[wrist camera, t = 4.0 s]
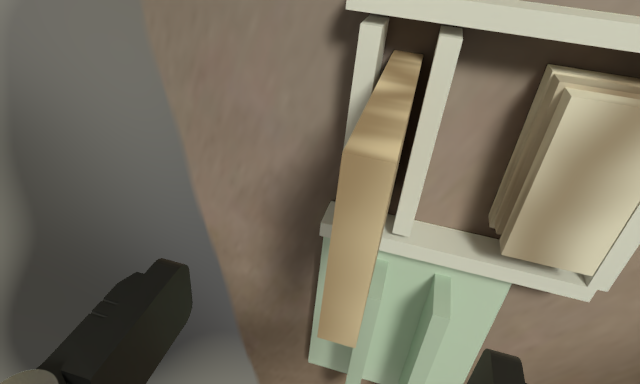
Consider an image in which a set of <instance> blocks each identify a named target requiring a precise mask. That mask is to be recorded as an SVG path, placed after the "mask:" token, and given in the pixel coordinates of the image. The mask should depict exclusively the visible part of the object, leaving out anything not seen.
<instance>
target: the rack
mask: <svg viewBox="0 0 640 384" xmlns="http://www.w3.org/2000/svg"><path fill="white" fill-rule="evenodd" d="M346 9H347V10H354V11H360V12H367V13H374V14H381V15H387V16H394V17H401V18H408V19H414V20H421V21H428V22H435V23H441V24H448V25H455V26H462V27H468V28H475V29H482V30H488V31H495V32H502V33H509V34H515V35H522V36H529V37H536V38H542V39H549V40H556V41H563V42H569V43H576V44H583V45H590V46H596V47H603V48H610V49H617V50H623V51H630V52H637V53H640V17H639V16H632V15H624V14H617V13H610V12H602V11H595V10H587V9H580V8H572V7H565V6H558V5H550V4H543V3H535V2H528V1H520V0H347V1H346ZM389 19H390V17H384V16H377V15H369V16H368V17H367V18H366V19H365V20H364V21H363V22H362V23H361V24H360V31H359V38H358V45H357V53H356V60H355V67H354V74H353V82H352V89H351V96H350V104H349V111H348V118H347V125H346V133H345V140H344V147H343V150H344V148H345V146H346V144H347V142H348V140H349V138H350V136H351V134H352V132H353V130H354V128H355V126H356V124H357V122H358V120H359V118H360V116H361V114H362V112H363V110H364V108H365V106H366V104H367V103H368V101H369V99H370V97H371V95H372V93H373V91H374V89H375V87H376V85H377V83H378V81H379V76H380V71H381V65H382V59H383V53H384V48H385V42H386V36H387V30H388V24H389ZM462 41H463V32H462V28H458V27H451V26H444V25H441V27H440V31H439V36H438V40H437V44H436V48H435V52H434V57H433V61H432V65H431V69H430V73H429V77H428V82H427V86H426V90H425V94H424V98H423V103H422V107H421V111H420V115H419V119H418V124H417V128H416V132H415V136H414V140H413V144H412V149H411V153H410V157H409V161H408V165H407V170H406V174H405V178H404V182H403V186H402V191H401V195H400V199H399V203H398V207H397V212H396V216H395V215H391V214H387V218H386V222H385V226H384V230H383V234H382V239H381V243H380V247H379V250H380V251H384V252H388V253H392V254H396V255H400V256H404V257H408V258H412V259H416V260H421V261H425V262H429V263H433V264H437V265H441V266H445V267H449V268H453V269H457V270H461V271H465V272H469V273H473V274H477V275H481V276H485V277H489V278H493V279H497V280H501V281H505V282H509V283H513V284H517V285H522V286H526V287H530V288H534V289H538V290H542V291H546V292H550V293H554V294H558V295H562V296H566V297H570V298H574V299H578V300H582V301H586V302H589V301H590V300H591V298H592V297H593V295H594V294H595V292H596V291H597V290H601V291H606V292H608V290H609V289H610V287H611V286H612V284H613V283H614V281H615V280H616V278H617V277H618V275H619V274H620V272H621V271H622V269H623V268H624V267H625V265H626V264H627V262H628V261H629V259H630V258H631V256H632V255H633V253H634V252H635V250H636V249H637V247H638V246H639V244H640V201H639V203H638V205H637V206H636V208H635V209H634V211H633V212H632V214H631V216H630V217H629V219H628V220H627V222H626V224H625V225H624V227H623V228H622V230H621V232H620V233H619V235H618V236H617V238H616V240H615V241H614V243H613V244H612V246H611V247H610V249H609V251H608V252H607V254H606V255H605V257H604V259H603V260H602V262H601V263H600V265H599V267H598V268H597V270H596V271H595V273H594V275H593V276H589V275H584V274H580V273H576V272H572V271H567V270H563V269H559V268H555V267H551V266H546V265H542V264H538V263H534V262H530V261H525V260H521V259H517V258H513V257H508V256H504V255H501V249H500V242H499V239H495V238H490V237H486V236H482V235H477V234H473V233H469V232H464V231H460V230H456V229H451V228H447V227H443V226H438V225H434V224H430V223H425V222H421V221H417V220H414V218H415V215H416V211H417V207H418V203H419V200H420V196H421V192H422V189H423V185H424V181H425V178H426V174H427V170H428V167H429V163H430V159H431V156H432V152H433V148H434V145H435V141H436V137H437V133H438V130H439V126H440V122H441V119H442V115H443V111H444V108H445V104H446V100H447V97H448V93H449V89H450V86H451V82H452V78H453V75H454V71H455V67H456V64H457V60H458V56H459V52H460V49H461V45H462ZM335 203H336V202H335V201H330V204H329V206H328V208H327V210H326V212H325V214H324V217H323V219H322V221H321V225H320V233H319V235H320V236H324V237H328V238H331V232H332V225H333V217H334V210H335Z"/></svg>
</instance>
